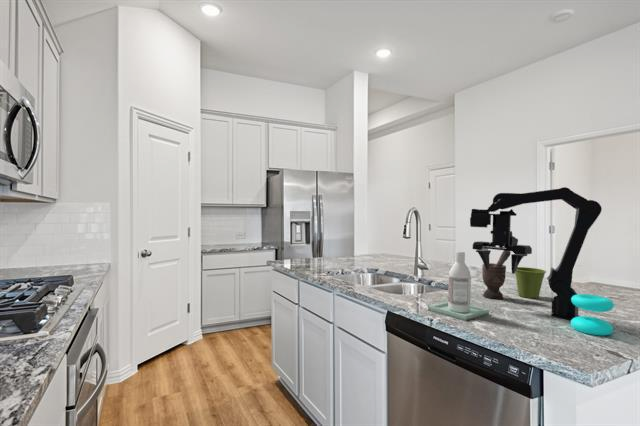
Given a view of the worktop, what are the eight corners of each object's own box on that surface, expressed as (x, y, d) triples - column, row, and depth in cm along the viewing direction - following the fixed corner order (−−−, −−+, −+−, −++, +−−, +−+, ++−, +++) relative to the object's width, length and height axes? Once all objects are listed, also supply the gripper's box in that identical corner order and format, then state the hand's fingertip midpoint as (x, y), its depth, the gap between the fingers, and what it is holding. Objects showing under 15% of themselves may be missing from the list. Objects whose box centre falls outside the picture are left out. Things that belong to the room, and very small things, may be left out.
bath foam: (453, 306, 127) (455, 250, 127) (473, 310, 122) (474, 252, 122) (444, 309, 122) (445, 251, 122) (464, 314, 117) (465, 253, 117)
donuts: (614, 303, 98) (569, 297, 104) (613, 339, 98) (568, 331, 104) (614, 297, 106) (572, 291, 112) (613, 330, 106) (572, 323, 112)
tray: (488, 313, 121) (488, 309, 121) (465, 320, 112) (465, 316, 112) (451, 304, 132) (451, 300, 132) (428, 310, 123) (428, 305, 123)
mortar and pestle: (517, 299, 141) (518, 249, 141) (506, 302, 136) (507, 250, 136) (488, 293, 151) (489, 246, 151) (477, 296, 145) (478, 247, 145)
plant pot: (516, 298, 143) (516, 270, 143) (509, 292, 154) (510, 266, 154) (549, 301, 140) (550, 272, 140) (540, 294, 151) (541, 268, 151)
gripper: (539, 229, 126) (538, 273, 126) (487, 226, 141) (486, 266, 141) (524, 229, 119) (523, 276, 119) (472, 227, 134) (471, 268, 134)
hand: (500, 271), depth 129 cm, fingers open, 9 cm apart
